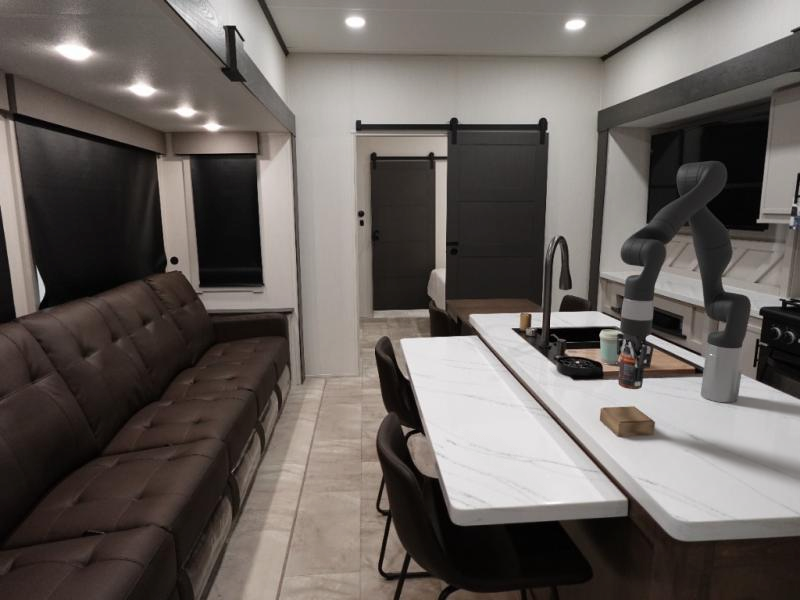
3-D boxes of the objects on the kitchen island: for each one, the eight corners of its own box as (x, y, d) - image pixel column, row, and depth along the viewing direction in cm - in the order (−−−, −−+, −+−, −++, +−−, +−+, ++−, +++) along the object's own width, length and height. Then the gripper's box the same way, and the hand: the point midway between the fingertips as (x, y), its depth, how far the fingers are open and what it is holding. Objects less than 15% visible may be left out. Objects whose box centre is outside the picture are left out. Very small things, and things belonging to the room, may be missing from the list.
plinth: (633, 419, 150) (634, 405, 149) (653, 434, 140) (655, 420, 140) (599, 420, 149) (600, 407, 148) (617, 436, 139) (619, 422, 138)
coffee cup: (623, 361, 201) (626, 331, 199) (619, 367, 194) (621, 336, 192) (599, 358, 206) (602, 327, 203) (594, 363, 198) (597, 332, 196)
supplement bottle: (644, 391, 139) (648, 349, 137) (620, 389, 140) (624, 348, 138) (639, 383, 145) (643, 343, 142) (616, 381, 146) (619, 341, 144)
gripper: (666, 322, 132) (659, 386, 135) (635, 309, 146) (630, 367, 149) (638, 322, 131) (631, 387, 134) (609, 309, 145) (604, 368, 149)
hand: (630, 376), depth 142 cm, fingers closed on supplement bottle, 6 cm apart
